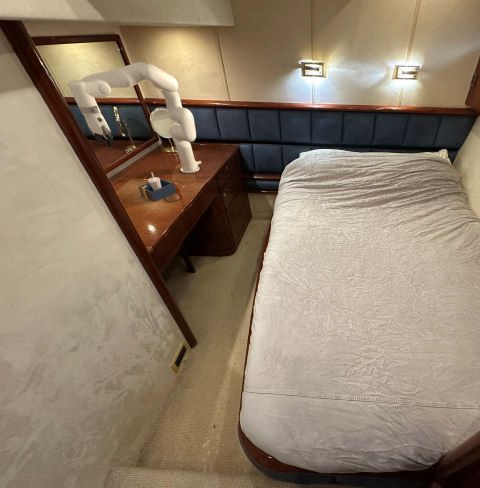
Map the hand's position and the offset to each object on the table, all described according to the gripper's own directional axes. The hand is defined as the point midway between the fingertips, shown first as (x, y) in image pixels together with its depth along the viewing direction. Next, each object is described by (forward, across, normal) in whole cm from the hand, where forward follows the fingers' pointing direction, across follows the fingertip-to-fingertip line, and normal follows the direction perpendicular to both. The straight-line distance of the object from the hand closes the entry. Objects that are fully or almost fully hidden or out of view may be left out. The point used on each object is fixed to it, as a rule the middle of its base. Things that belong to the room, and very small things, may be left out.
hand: (106, 144), depth 141 cm
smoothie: (+31, -12, -10) cm, 35 cm away
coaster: (+31, -24, -11) cm, 41 cm away
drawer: (+31, -12, -10) cm, 35 cm away
